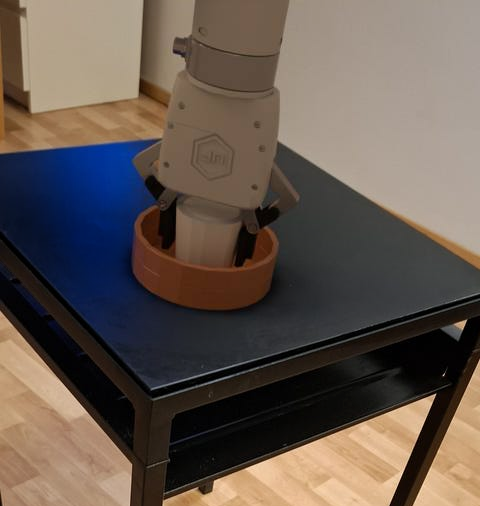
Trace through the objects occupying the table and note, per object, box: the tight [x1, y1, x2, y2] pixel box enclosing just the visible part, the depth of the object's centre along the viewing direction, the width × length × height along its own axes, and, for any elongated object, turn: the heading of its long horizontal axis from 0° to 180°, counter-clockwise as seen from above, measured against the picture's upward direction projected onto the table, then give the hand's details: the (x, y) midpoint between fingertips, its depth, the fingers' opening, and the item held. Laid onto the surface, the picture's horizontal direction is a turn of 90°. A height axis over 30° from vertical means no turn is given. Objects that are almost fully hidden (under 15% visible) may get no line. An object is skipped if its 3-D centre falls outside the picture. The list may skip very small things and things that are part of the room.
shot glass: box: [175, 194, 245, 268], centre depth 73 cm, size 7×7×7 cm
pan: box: [130, 204, 280, 311], centre depth 74 cm, size 14×14×4 cm
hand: (204, 251), depth 74 cm, fingers closed on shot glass, 6 cm apart
